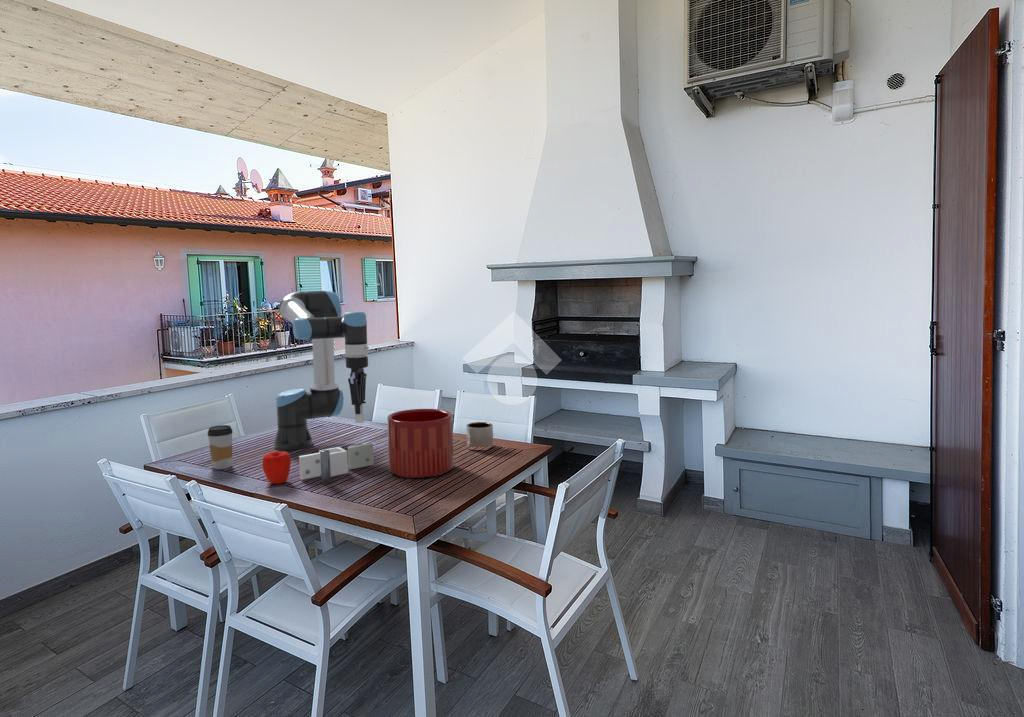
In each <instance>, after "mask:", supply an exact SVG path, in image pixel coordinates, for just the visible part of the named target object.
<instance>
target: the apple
mask: <svg viewBox="0 0 1024 717" xmlns="http://www.w3.org/2000/svg"><path fill="white" fill-rule="evenodd" d="M291 463H292V462H291V455H290V453H289V452H287V451H283V450H280V451H279V450H278V451H272V452H269V453H266V454H265V455H264V456H263V458H262V470H263V473H264V475H265V478H266V479H267V481H268V482H269V483H270V484H274V485H275V484H277V485H278V484H283V483H285V482H287V480H288V479H289V477H290V476H289V475H290V471H291Z"/></svg>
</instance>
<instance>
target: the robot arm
mask: <svg viewBox="0 0 1024 717" xmlns="http://www.w3.org/2000/svg"><path fill="white" fill-rule="evenodd" d="M278 311H279V314H280V316H281V317H282V318H283V319H284V320H286V321H288V322H290V323H291V324H292V333H293V338H295V339H296V340H303V341H308V340H312V369H313V384H311V385H310V387H309V388H310V389H309V390H310V391H306V389H305V388H295V389H289V390H285V391H282V392H280V393H278V394H277V396H276V397H275V407H276V420H277V421H276V422H277V429H276V434H275V438H274V440H273V446H274V449H276V450H278V451H279V450H280V451H289V450H290V451H292V450H299V449H305V448H308V447H310V446H312V445H313V437H312V434H311V432H310V430H309V428H308V420H313V419H323V418H331V417H336V416H337V417H338V416H339V415H340V414H341V412H342V411H343V407H344V400H345V398H344V392H343V390H342V389H341V388H339V384H338V383H336V376H335V375H336V374H335V339H341V338H343V339H344V351H345V352H344V353H345V354H344V355H345V367H346V368H347V369H350V374H349V377H348V378H347V380H348V381H347V382H348V385H349V392H350V398H351V399H350V401H351V405H352V406H354V408H353V410H354V423H355V424H361V423H362V424H363V423H364V422H365V419H364V418H365V417H364V416H365V414H364V411H365V410H364V404H366V403H367V402H366V390H367V389H366V387H367V386H366V385H367V376H368V375H367V373H366V372H365V370H364V369H365V368H368V366H369V357H368V356H367V355H369V354H368V350H369V349H370V348H369V346H368V321H367V314H366V312H364V311H348V312H347V311H346V312H344V313H343V315H342V304H341V301H340V298H339V296H338V294H337V293H336V292H334V291H331V290H330V291H329V290H311V291H310V290H309V291H307V290H306V291H305V290H304V291H302V290H300V291H299V290H298V291H294V292H291V293H288V294H286V295H285V296H284V297H283V298H282V299H281V300H280V302H279V305H278Z"/></svg>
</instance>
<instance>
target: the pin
mask: <svg viewBox="0 0 1024 717" xmlns="http://www.w3.org/2000/svg"><path fill="white" fill-rule="evenodd" d="M320 459H321V476H320V477H321V484H322V485H327V484H331V483H332V476H331V472H330V451H329V450H324V449H321V451H320Z"/></svg>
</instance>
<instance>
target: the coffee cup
mask: <svg viewBox="0 0 1024 717" xmlns="http://www.w3.org/2000/svg"><path fill="white" fill-rule="evenodd" d="M233 432H234V431H233V429H232V427H231V425H229V424H224V425H222V424H221V425H214V426H211V427H209V428H208V431H207V436H208V443H209V444H208V445H209V453H210V459H211V464H212V467H213V470H226V469H229V468H231V467H232V465H233Z"/></svg>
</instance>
